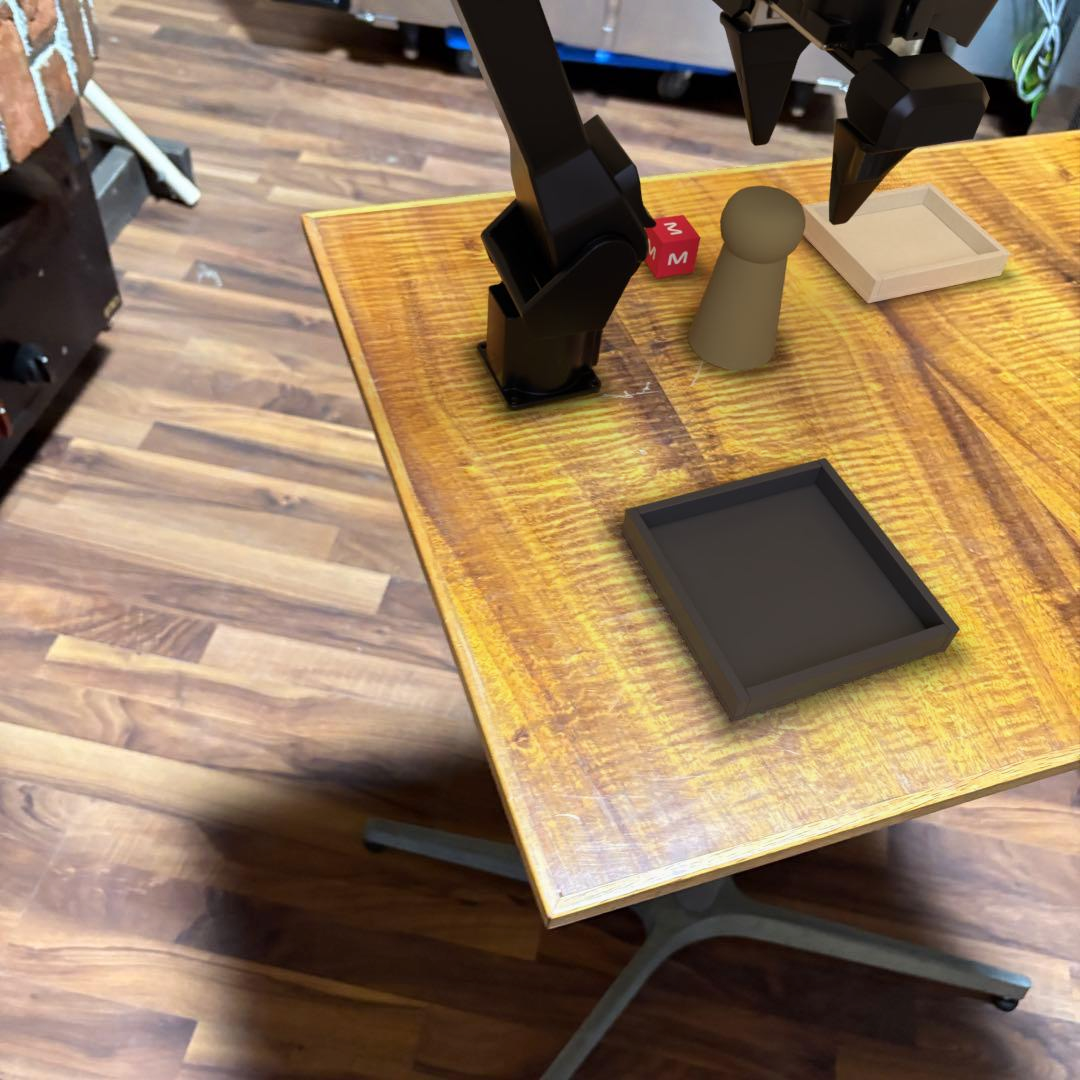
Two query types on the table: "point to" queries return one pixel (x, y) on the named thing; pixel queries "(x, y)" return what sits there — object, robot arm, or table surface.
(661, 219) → the red letter m cube
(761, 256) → the tan game pawn
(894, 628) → the dark tray
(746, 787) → the table surface
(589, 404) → the table surface
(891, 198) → the light tray
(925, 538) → the table surface
